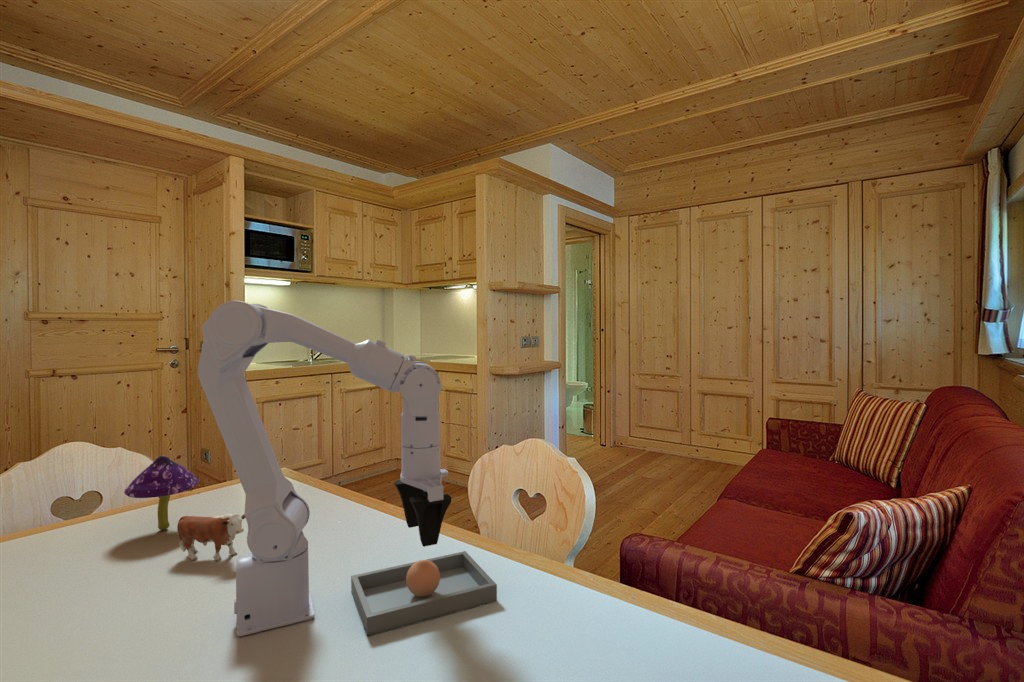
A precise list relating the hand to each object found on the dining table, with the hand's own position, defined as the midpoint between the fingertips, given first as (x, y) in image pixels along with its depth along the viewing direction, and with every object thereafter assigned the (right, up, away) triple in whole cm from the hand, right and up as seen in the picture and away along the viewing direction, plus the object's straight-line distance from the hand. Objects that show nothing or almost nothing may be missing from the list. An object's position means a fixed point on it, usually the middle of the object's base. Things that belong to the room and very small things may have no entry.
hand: (421, 534), depth 76 cm
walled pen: (0, -9, 0) cm, 9 cm away
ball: (0, -7, 0) cm, 7 cm away
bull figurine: (-39, -10, +14) cm, 43 cm away
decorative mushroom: (-57, -9, +27) cm, 63 cm away
